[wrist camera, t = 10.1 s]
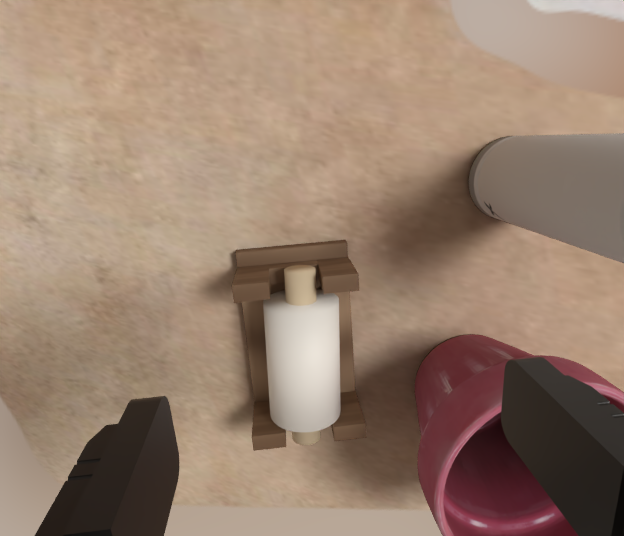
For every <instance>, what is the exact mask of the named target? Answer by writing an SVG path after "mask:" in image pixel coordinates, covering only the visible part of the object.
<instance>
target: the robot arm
mask: <svg viewBox="0 0 624 536" xmlns="http://www.w3.org/2000/svg"><path fill="white" fill-rule="evenodd" d="M501 422H502V427H503V431H504V434H505V436H506V438H507V440H508V442H509V443H510V445H511V446H512V447H513V449H514V450H515V451H516V453H517V454H518V455H519V457H520V458H521V459H522V461H523V462H524V463H525V465H526V466H527V467H528V469H529V470H530V472H531V473H532V474H533V476H534V477H535V478H536V480H537V481H538V482H539V484H540V485H541V486H542V488H543V489H544V490H545V492H546V493H547V494H548V496H549V497H550V498H551V500H552V501H553V502H554V504H555V505H556V506H557V508H558V509H559V510H560V512H561V513H562V514H563V516H564V517H565V518H566V520H567V521H568V522H569V524H570V525H571V526H572V528H573V529H574V530H575V532H576V533H577V534H578V536H624V413H623V412H622V411H621V410H620V409H618V408H617V407H616V406H615V405H614V404H610V402H609V400H608V399H606V398H605V397H604V396H603V395H601V394H600V393H599V392H598V391H597V390H595V389H594V388H593V387H592V386H590V385H587V384H585V383H583V382H581V381H579V380H577V379H575V378H573V377H571V376H569V375H566V376H565V375H564V374H562V373H561V372H560V371H559V370H558V369H557V368H555V367H554V366H553V365H552V364H551V363H550V362H548V361H547V360H546V359H545V358H543V357H533V358H524V359H514V360H509V361H508V362H507V363H506V365H505V370H504V383H503V395H502V408H501ZM178 476H179V452H178V447H177V442H176V436H175V431H174V426H173V421H172V416H171V411H170V405H169V402H168V399H167V397H165V396H161V397H151V398H142V399H133V400H131V401H130V402H129V403H128V405H127V407H126V409H125V411H124V413H123V415H122V417H121V419H120V421H119V423H118V424H113V425H106V426H105V427H104V428H103V429H102V430H101V431H100V432H98V433H97V434H96V435H95V436H94V437H93V438H92V439H91V440H90V441H89V442H88V443H87V444H86V446H85V448H84V450H83V451H82V453H81V455H80V457H79V459H78V460H77V465H75V466H74V467H73V469H72V471H71V473H70V474H69V476H68V481H65V483H64V485H63V487H62V488H61V490H60V492H59V494H58V496H57V497H56V499H55V501H54V503H53V504H52V506H51V508H50V510H49V511H48V513H47V515H46V517H45V518H44V520H43V522H42V524H41V525H40V527H39V529H38V531H37V533H36V535H35V536H164V533H165V529H166V525H167V521H168V517H169V513H170V509H171V505H172V501H173V498H174V494H175V490H176V486H177V482H178Z"/></svg>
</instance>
